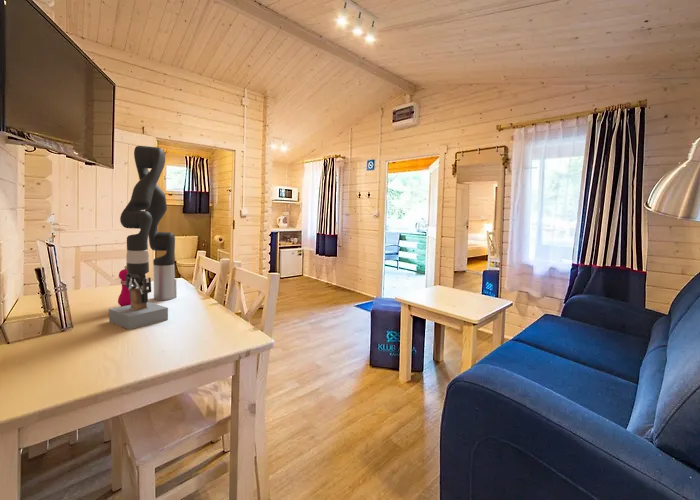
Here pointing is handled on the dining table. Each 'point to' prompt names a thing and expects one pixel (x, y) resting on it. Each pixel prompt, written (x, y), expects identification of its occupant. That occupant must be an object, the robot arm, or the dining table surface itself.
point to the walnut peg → (137, 300)
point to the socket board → (138, 315)
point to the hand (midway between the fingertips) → (138, 300)
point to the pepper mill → (124, 289)
